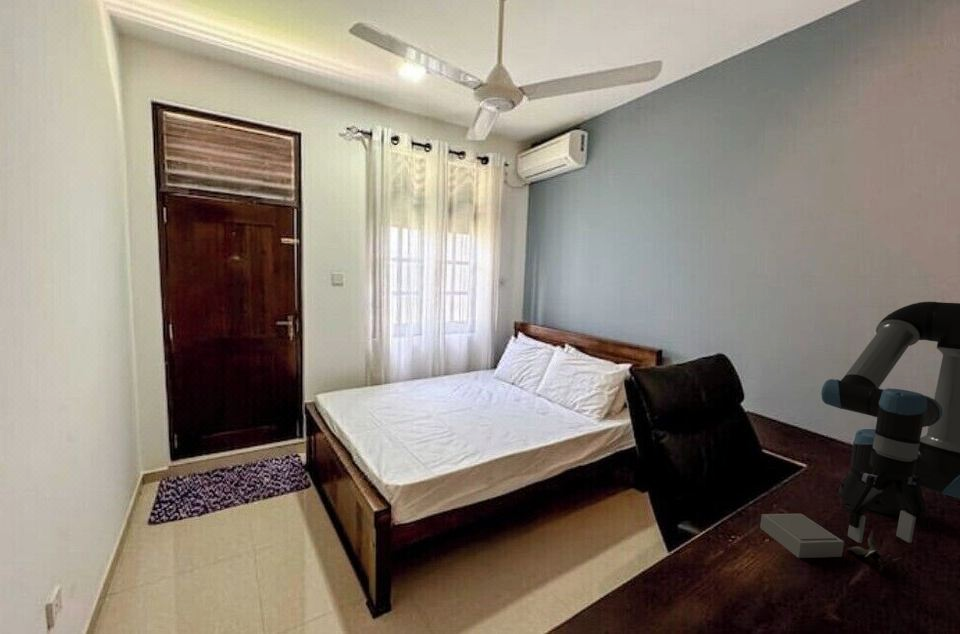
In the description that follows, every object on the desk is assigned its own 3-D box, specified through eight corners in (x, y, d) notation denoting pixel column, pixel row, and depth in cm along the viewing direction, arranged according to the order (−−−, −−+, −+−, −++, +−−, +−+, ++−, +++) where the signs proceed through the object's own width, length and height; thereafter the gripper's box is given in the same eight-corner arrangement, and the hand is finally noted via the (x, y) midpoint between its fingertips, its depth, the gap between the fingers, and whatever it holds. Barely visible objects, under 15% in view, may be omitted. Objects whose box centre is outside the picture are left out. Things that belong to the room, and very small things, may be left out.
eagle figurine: (908, 570, 96) (875, 540, 105) (898, 548, 95) (866, 519, 103) (873, 581, 98) (844, 550, 106) (864, 560, 96) (835, 530, 105)
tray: (799, 527, 113) (801, 512, 113) (841, 556, 102) (844, 540, 101) (759, 527, 112) (761, 513, 112) (798, 558, 100) (800, 541, 100)
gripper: (920, 449, 102) (906, 529, 104) (831, 447, 99) (818, 529, 101) (958, 463, 94) (942, 549, 96) (863, 461, 91) (849, 549, 93)
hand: (879, 539), depth 98 cm, fingers open, 13 cm apart
